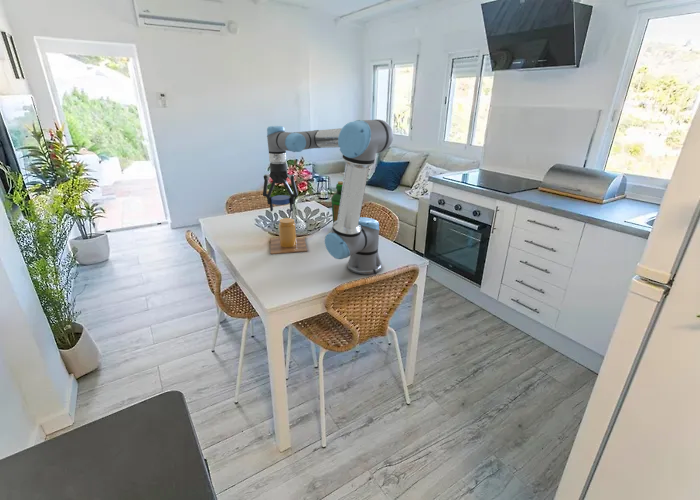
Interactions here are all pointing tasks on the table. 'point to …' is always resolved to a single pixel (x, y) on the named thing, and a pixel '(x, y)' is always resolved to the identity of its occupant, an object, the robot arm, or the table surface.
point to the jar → (287, 232)
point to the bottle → (336, 201)
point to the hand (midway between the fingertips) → (281, 210)
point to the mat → (278, 249)
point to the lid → (280, 200)
